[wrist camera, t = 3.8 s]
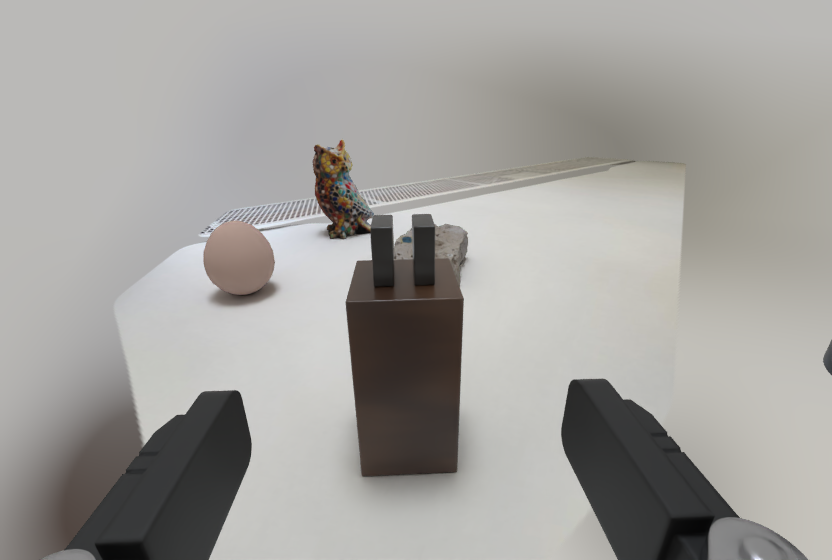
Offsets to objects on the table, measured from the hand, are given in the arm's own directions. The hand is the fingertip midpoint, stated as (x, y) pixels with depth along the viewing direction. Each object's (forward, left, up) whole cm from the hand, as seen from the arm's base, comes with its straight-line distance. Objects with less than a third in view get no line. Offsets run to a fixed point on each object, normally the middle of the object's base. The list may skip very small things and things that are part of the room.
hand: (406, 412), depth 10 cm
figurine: (+47, -35, -12) cm, 60 cm away
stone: (+25, -31, -12) cm, 42 cm away
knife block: (+8, -8, -12) cm, 16 cm away
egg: (+37, -12, -12) cm, 40 cm away
